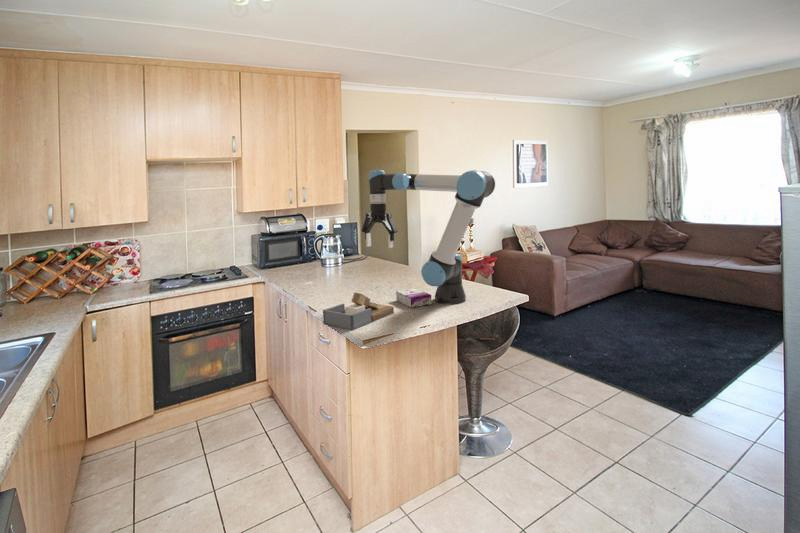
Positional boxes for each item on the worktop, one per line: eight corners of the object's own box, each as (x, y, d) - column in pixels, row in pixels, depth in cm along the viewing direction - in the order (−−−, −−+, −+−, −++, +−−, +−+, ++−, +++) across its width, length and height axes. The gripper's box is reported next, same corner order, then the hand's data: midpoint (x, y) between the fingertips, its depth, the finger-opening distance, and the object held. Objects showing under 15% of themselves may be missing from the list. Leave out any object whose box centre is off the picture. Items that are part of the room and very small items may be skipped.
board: (393, 313, 193) (393, 306, 192) (372, 322, 181) (372, 315, 180) (366, 308, 202) (365, 302, 202) (344, 316, 190) (343, 309, 189)
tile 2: (365, 312, 184) (365, 305, 184) (356, 316, 180) (355, 309, 179) (354, 310, 188) (354, 303, 187) (345, 314, 183) (344, 307, 183)
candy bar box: (431, 305, 205) (416, 297, 219) (431, 294, 204) (415, 287, 218) (410, 308, 200) (395, 300, 215) (410, 298, 199) (395, 290, 214)
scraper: (380, 303, 190) (366, 294, 181) (378, 312, 188) (363, 303, 180) (363, 300, 195) (349, 291, 187) (360, 308, 194) (346, 300, 186)
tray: (371, 322, 180) (371, 308, 179) (352, 330, 171) (352, 315, 170) (343, 316, 190) (342, 303, 189) (323, 324, 180) (322, 310, 179)
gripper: (353, 203, 212) (355, 246, 216) (394, 203, 198) (395, 249, 202) (363, 203, 218) (364, 244, 222) (403, 202, 204) (405, 247, 208)
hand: (379, 247), depth 212 cm, fingers open, 13 cm apart
